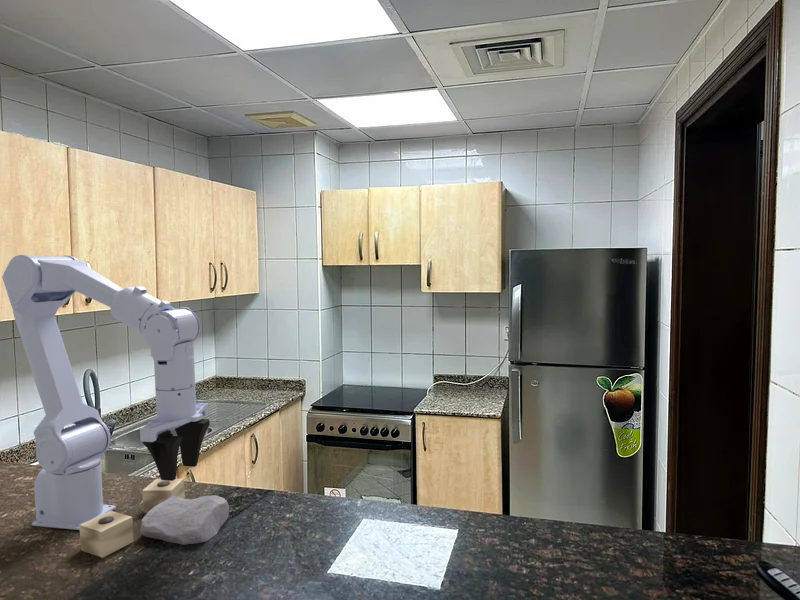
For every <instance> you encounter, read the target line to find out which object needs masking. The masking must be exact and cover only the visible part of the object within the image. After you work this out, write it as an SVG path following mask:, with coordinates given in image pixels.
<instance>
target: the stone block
mask: <svg viewBox="0 0 800 600" xmlns="http://www.w3.org/2000/svg"><path fill="white" fill-rule="evenodd" d="M229 512H230V506H229V503H228V501H227V499H225V498H224V497H221V496H219V495H215V494H213V495H212V494H211V495H206V496H205V495H202V496H200V497H197V498H193V499H189V498H185V499H182V498H180V497H178V496H172V497H169V498H168V499H167V500H165V501H164V502H162V503H160V504H158V505H156V506H155V507H154V508H152V509H151V510H150V511H149V512H148V513H145V515H144V516H143V517H142V519H141V522H140V525H141V526H140V529H139V532H140V533H141V535H142V536H144V537H146V538H152V539H155V540H161V541H165V542H167V543H173V544H179V545H182V546H183V545H185V546H186V545H191V544H192V545H193V544H194V545H195V544H200V543H206V542H208V541H210V540H211V539H212V538H214V537H216V535H217V534H218V532H219V531H220V530H221V529H220V528H221V527H222V526H224V524H225V523H226V522H227V520H228V519H229Z"/></svg>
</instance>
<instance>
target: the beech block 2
mask: <svg viewBox="0 0 800 600" xmlns="http://www.w3.org/2000/svg"><path fill="white" fill-rule="evenodd" d="M141 491H142V510H143V511H142V512H143V514H147V513H148V512H149V511H150V510H151V509H152V508H154V507H155V506H156V505H158V504H160V503H162V502H164V501H165V500H167V499H168V498H169V497H172V496H178V497H180V498H182V499H186V494H185V478H176V479H175V480H173V481H167V480H161V478H156V479H154V480H153V481H152V482H150V484H148V485H147V486H146V487H144V488H143V489H142V490H141Z"/></svg>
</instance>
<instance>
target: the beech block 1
mask: <svg viewBox="0 0 800 600" xmlns="http://www.w3.org/2000/svg"><path fill="white" fill-rule="evenodd" d="M133 522H134V521H133V516H130V515H127V514H125V513H124V514H123V513H121V512H116V511H115V510H112V511H109V512H107V513H105V514H103V515H100V516H98V517H96V518H94V519H91V520H89V521H87V522H85V523H82V524H80V525H79V526H80V530H79V536H80V538H79V540H80V551H82V552H85V553H88V554H91V555H94V556H97V557H100V558H101V559H103V558H105V557H107V556H109V555H111V554H112V553H115V552H116V551H119V550H120V549H122V548H124V547H126V546H128V545H130V544H131V543H134V540H135V539H134V524H133Z"/></svg>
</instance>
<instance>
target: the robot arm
mask: <svg viewBox="0 0 800 600" xmlns="http://www.w3.org/2000/svg"><path fill="white" fill-rule="evenodd" d="M5 268H6V269H5V270H4V272H3V274H2V277H1V278H2V281H3V284H4V287H5V289H6V294H7V297H8V300H9V302H10V305H11V308H12V313H13V318H14V321H15V324H16V327H17V330H18V333H19V336H20V339H21V342H22V345H23V349H24V351H25V355H26V359H27V361H28V364H29V367H30V371H31V373H32V377H33V379H34V383H35V386H36V389H37V392H38V396H39V399H40V401H41V404H42V408H43V410H44V415H45V416H44V417H43V418H42V420H41V421H40V422H39V424H38V425H37V426H36V428H35V429H34V431H33V435H34V439H35V457H36V460H37V462H38V464H39V465H40V467H41V468H42V469H41V470H39V472H38V474H37V475H36V478H35V481H34V487H33V492H34V503H35V504H34V505H35V520H34V521H32V522H31V526H32V527H43V528H53V529H62V530H63V529H66V530H75V531H80V526H79V525H80V524H82V523H85V522H87V521H89V520H91V519H94V518H96V517H98V516H100V515H103V514H105V513H107V512H109V511H115V509H116V508H117V506H116V505H115V504H114V505H112V504H104V498H103V495H104V494H103V480H102V479H103V476H102V464H101V463H102V460H104V459H105V454H104V453H105V452H107V450H108V449H109V447H110V445H111V438H112V437H111V433H110V429H109V427H108V426H107V424H105V423H104V421H103V420H102V418H101V415H100V413H99V410H98V409H96V408H94V407H92V406H90V405H87V404H85V403H84V402H83V399H82V396H81V393H80V391H79V390H80V389H79V387H78V384H77V381H76V377H75V375H74V370H73V369H72V365H71V361H70V359H69V356H68V351H67V350H66V347H65V346H66V345H65V343H64V340H63V338H62V333H61V331H60V328H59V324H58V321H57V319H56V314H57V312H58V311H59V309H60V308H62V307H63V306H64V305H65V304H66V303H67V302H68V301H69V300H70V299H71V298H72V297H73V296H74V294H75V293H76V292H77V293H79V294H81V295H83V296H85V297H88V298H90V299H92V300H94V301H96V302H99V303H100V304H102V305H105V306H107V307H108V308H110V314H111V316H112V317H113V318H114V319H115V320H117V321H119V322H121V323H123V324H124V325H126V326H128V327H130V328H131V329H133V330H135V331H137V332H138V333H140V334H143V338H144V340H145V342H146V344H148V347H149V349H150V357H152V359H153V368H154V370H153V371H154V384H155V385H154V387H155V389H154V390H155V391H154V392H155V405H156V407H155V408H156V416H154V418H152V419H151V420H150V421H148V423H147V424H146V425H144V426H142V427H140V428H139V438H140V439H139V440H140V442H142V444H143V445H144V446H145V448H146V449H147V450H148V452H149V453H150V455H151V456H152V458H153V460H154V462H155V465H156V468H157V472H158V474H159V477H160V478H159V479H161V480H167V481H173V480H175V479H177V473H178V455H179V450H180V457H181V458H180V459H181V462H182V465H183V467H194V468H195V467H197V466H198V462H199V457H200V453H201V448H202V444H203V440H204V438H205V435H206V433H207V430H208V428H209V427H210V425H211V424H210V419H208V418H203V417H206V416H208V415H209V414H210V412H209V411H210V410H209V402H208V403H207V402H197V398H196V397H197V395H196V375H195V374H196V372H195V371H196V370H195V351H194V348H195V347H194V342H195V341H196V340H197V339H198V338H199V336H200V333H201V322H200V319H199V317H198V315H197V314H196V313H195V312H194V311H192V310H191V308H190V307H186V306H181V307H178V308H175V307H173V306H172V305H171V302H170V301H167V300H161V299H159V298H157V297H155V296H153V295H151V294H149V293H147V292H148V289H147V288H145V287H144V286H141V285H140V286H128V287H125V288H122V287H121V286H119V285H118V284H116V283H115V282H113V281H111V280H110V279H108V278H107V277H105V276H104V275H102V274H100V273H98V272H97V271H95V270H94V269H92V268H90V267H89V266H88V265H87V262H86V261H83V260H81V259H78V258H77V257H75V256H72V255H62V256H59V255H57V256H56V255H55V256H53V255H51V256H50V255H29V254H17V255H15V256H14V257H12V258H11V259H10V260H9V262H8V264H7V266H6V267H5ZM70 424H73V425H72V426H70V427H67V428H64V427H66V426H68V425H70ZM63 428H64V429H63ZM171 431H175V433H176V435H174V433H172V432H171Z"/></svg>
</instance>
